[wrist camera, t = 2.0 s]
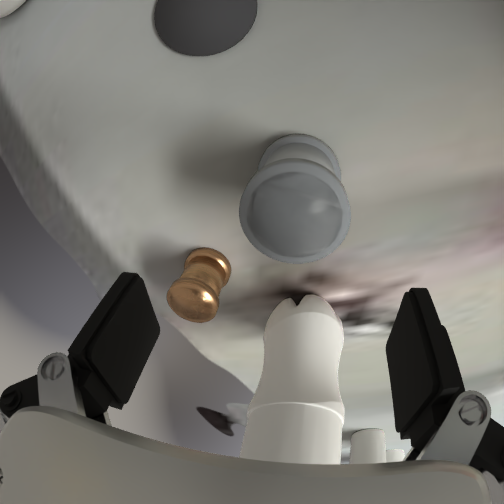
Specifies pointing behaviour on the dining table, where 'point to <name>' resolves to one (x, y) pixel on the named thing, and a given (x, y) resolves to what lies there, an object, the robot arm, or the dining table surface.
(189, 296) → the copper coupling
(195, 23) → the pad
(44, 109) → the dining table surface
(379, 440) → the mug
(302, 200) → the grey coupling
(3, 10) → the flower in vase
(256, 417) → the water bottle
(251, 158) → the dining table surface
